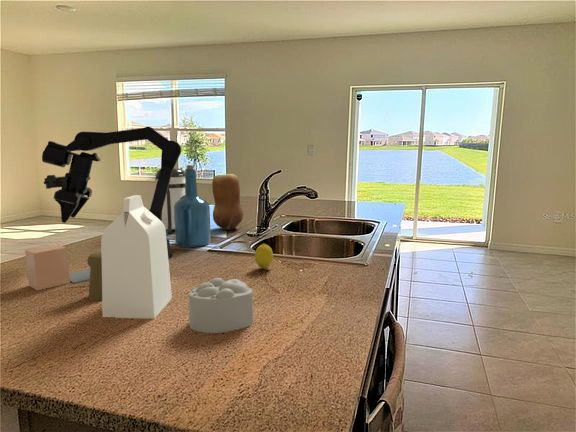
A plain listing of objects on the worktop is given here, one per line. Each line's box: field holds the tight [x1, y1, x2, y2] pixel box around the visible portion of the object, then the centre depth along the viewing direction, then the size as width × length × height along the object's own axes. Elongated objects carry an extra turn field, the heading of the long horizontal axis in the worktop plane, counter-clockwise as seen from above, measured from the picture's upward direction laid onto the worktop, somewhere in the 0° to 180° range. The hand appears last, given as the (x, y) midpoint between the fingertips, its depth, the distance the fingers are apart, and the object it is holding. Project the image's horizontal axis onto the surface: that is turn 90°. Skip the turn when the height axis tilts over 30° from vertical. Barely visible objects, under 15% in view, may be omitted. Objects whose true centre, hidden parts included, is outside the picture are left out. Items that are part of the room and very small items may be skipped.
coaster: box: [69, 268, 91, 284], centre depth 116 cm, size 11×9×1 cm
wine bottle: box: [174, 164, 211, 248], centre depth 151 cm, size 14×13×30 cm
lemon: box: [254, 243, 274, 270], centre depth 122 cm, size 6×6×8 cm
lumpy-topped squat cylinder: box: [187, 277, 254, 334], centre depth 86 cm, size 10×13×9 cm
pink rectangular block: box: [24, 243, 71, 292], centre depth 108 cm, size 8×6×10 cm
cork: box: [86, 251, 102, 301], centre depth 100 cm, size 6×6×11 cm
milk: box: [100, 194, 173, 320], centre depth 91 cm, size 12×12×26 cm
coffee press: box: [154, 167, 185, 235], centre depth 177 cm, size 17×16×30 cm
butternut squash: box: [211, 173, 245, 231], centre depth 178 cm, size 14×13×25 cm
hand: (68, 219), depth 126 cm, fingers open, 9 cm apart
